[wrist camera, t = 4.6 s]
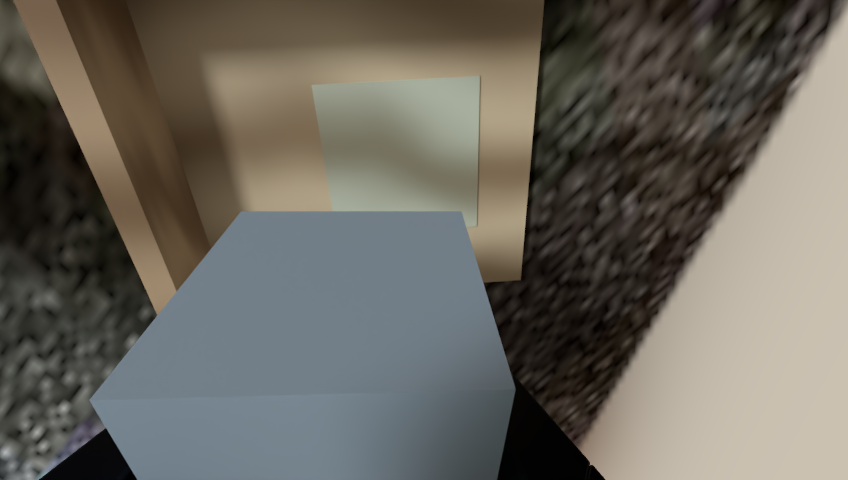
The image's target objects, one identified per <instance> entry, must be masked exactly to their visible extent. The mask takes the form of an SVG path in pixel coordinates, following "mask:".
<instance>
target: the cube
mask: <svg viewBox="0 0 848 480" xmlns="http://www.w3.org/2000/svg"><path fill="white" fill-rule="evenodd" d="M515 390H516V389H515V385H514V382H513V379H512V375H511V372H510V369H509V366H508V362H507V359H506V356H505V352H504V349H503V346H502V343H501V339H500V336H499V333H498V330H497V326H496V323H495V320H494V316H493V313H492V310H491V307H490V303H489V300H488V297H487V294H486V290H485V287H484V284H483V280H482V277H481V274H480V271H479V267H478V264H477V261H476V257H475V254H474V251H473V248H472V244H471V241H470V238H469V235H468V231H467V228H466V225H465V221H464V218H463V215H462V212H461V211H241V212H240V214H239V215H238V216H237V217H236V219H235V220H234V221H233V222H232V223H231V225H230V226H229V227H228V228H227V230H226V231H225V232H224V233H223V235H222V236H221V237H220V238H219V240H218V241H217V242H216V243H215V245H214V246H213V247H212V248H211V250H210V251H209V252H208V253H207V255H206V256H205V257H204V258H203V260H202V261H201V262H200V263H199V265H198V266H197V267H196V268H195V270H194V271H193V272H192V273H191V275H190V276H189V277H188V278H187V279H186V281H185V282H184V283H183V284H182V286H181V287H180V288H179V289H178V291H177V292H176V293H175V294H174V296H173V297H172V298H171V299H170V301H169V302H168V303H167V304H166V306H165V307H164V308H163V309H162V311H161V312H160V313H159V314H158V316H157V317H156V318H155V319H154V321H153V322H152V323H151V324H150V326H149V327H148V328H147V329H146V331H145V332H144V333H143V334H142V335H141V337H140V338H139V339H138V340H137V342H136V343H135V344H134V345H133V347H132V348H131V349H130V350H129V352H128V353H127V354H126V355H125V357H124V358H123V359H122V360H121V362H120V363H119V364H118V365H117V367H116V368H115V369H114V370H113V372H112V373H111V374H110V375H109V377H108V378H107V379H106V380H105V382H104V383H103V384H102V385H101V387H100V388H99V389H98V390H97V392H96V393H95V394H94V395H93V396H92V398H91V399H90V402H91V404H92V405H93V407H94V409H95V410H96V412H97V414H98V415H99V417H100V419H101V420H102V422H103V424H104V425H105V427H106V429H107V430H108V432H109V434H110V435H111V437H112V439H113V440H114V442H115V444H116V445H117V447H118V449H119V450H120V452H121V454H122V455H123V457H124V458H125V460H126V462H127V463H128V465H129V467H130V468H131V470H132V472H133V473H134V475H135V477H136V478H137V480H497V477H498V472H499V467H500V462H501V458H502V453H503V448H504V443H505V438H506V433H507V429H508V424H509V419H510V414H511V409H512V405H513V400H514V395H515Z"/></svg>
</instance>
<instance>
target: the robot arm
mask: <svg viewBox="0 0 848 480" xmlns="http://www.w3.org/2000/svg"><path fill="white" fill-rule="evenodd" d="M510 372H511V371H510ZM511 375H512V379H513V382H514V385H515V389H516V390H515V395H514V400H513V405H512V409H511V414H510V419H509V424H508V429H507V433H506V438H505V443H504V448H503V453H502V458H501V462H500V467H499V472H498V477H497V480H605V479H604V477H603V476H602V475H601V474H600V473H599V472H598V471H597V469H596V468H595V467H594V466H593V465H590V462H589V461H588V459H587V458H586V457H585V456H584V455H583V454H582V453H581V451H580V450H579V449H578V448H577V447H576V446H575V445H574V443H573V442H572V441H571V440H570V439H569V438H568V437H567V435H566V434H565V433H564V432H563V431H562V430H561V428H560V427H559V426H558V425H557V424H556V423H555V422H554V420H553V419H552V418H551V417H550V416H549V415H548V414H547V412H546V411H545V410H544V409H543V408H542V407H541V406H540V404H539V403H538V402H537V401H536V400H535V399H534V398H533V396H532V395H531V394H530V393H529V392H528V391H527V390H526V388H525V387H524V386H523V385H522V384H521V383H520V382H519V380H518V379H517V378H516V377H515V376H514V375H513V374H512V372H511ZM39 480H137V478H136V477H135V475H134V473H133V472H132V470H131V468H130V467H129V465H128V463H127V462H126V460H125V458H124V457H123V455H122V454H121V452H120V450H119V449H118V447H117V445H116V444H115V442H114V440H113V439H112V437H111V435H110V434H109V432H108V430H107V429H106V428H105V429H104V430H103V431H101V432H100V433H99V434H98V435H96V436H95V437H94V438H92V439H91V440H90V441H88V442H87V443H86V444H85V445H83V446H82V447H81V448H79V449H78V450H77V451H76V452H74V453H73V454H72V455H70V456H69V457H68V458H66V459H65V460H64V461H63V462H61V463H60V464H59V465H57V466H56V467H55V468H53V469H52V470H51V471H50V472H48V473H47V474H46V475H44V476H43V477H42V478H41V479H39Z"/></svg>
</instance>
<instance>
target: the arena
mask: <svg viewBox="0 0 848 480" xmlns="http://www.w3.org/2000/svg"><path fill="white" fill-rule="evenodd" d="M13 1H14V3H15V5H16V7H17V10H18V12H19V14H20V16H21V18H22V20H23V23H24V25H25V27H26V29H27V31H28V34H29V36H30V38H31V40H32V42H33V44H34V47H35V49H36V51H37V53H38V55H39V58H40V60H41V62H42V64H43V66H44V68H45V71H46V73H47V75H48V77H49V79H50V82H51V84H52V86H53V88H54V90H55V93H56V95H57V97H58V99H59V101H60V103H61V106H62V108H63V110H64V112H65V114H66V117H67V119H68V121H69V123H70V125H71V127H72V130H73V132H74V134H75V136H76V138H77V141H78V143H79V145H80V147H81V149H82V152H83V154H84V156H85V158H86V160H87V162H88V165H89V167H90V169H91V171H92V173H93V176H94V178H95V180H96V182H97V184H98V186H99V189H100V191H101V193H102V195H103V197H104V200H105V202H106V204H107V206H108V208H109V210H110V213H111V215H112V217H113V219H114V221H115V224H116V226H117V228H118V230H119V232H120V235H121V237H122V239H123V241H124V243H125V245H126V248H127V250H128V252H129V254H130V256H131V259H132V261H133V263H134V265H135V267H136V269H137V272H138V274H139V276H140V278H141V280H142V283H143V285H144V287H145V289H146V291H147V294H148V296H149V298H150V300H151V302H152V304H153V307H154V309H155V311H156V313H157V315H158V314H159V313H160V312H161V311H162V309H163V308H164V307H165V306H166V304H167V303H168V302H169V301H170V299H171V298H172V297H173V296H174V294H175V293H176V292H177V291H178V289H179V288H180V287H181V286H182V284H183V283H184V282H185V281H186V279H187V278H188V277H189V276H190V275H191V273H192V272H193V271H194V270H195V268H196V267H197V266H198V265H199V263H200V262H201V261H202V260H203V258H204V257H205V256H206V255H207V253H208V252H209V251H210V250H211V248H212V247H213V246H214V245H215V243H216V242H217V241H218V240H219V238H220V237H221V236H222V235H223V233H224V232H225V231H226V230H227V228H228V227H229V226H230V225H231V223H232V222H233V221H234V220H235V219H236V217H237V216H238V215H239V214H240V212H241V211H461V212H462V215H463V218H464V221H465V225H466V228H467V231H468V235H469V238H470V241H471V244H472V248H473V251H474V254H475V257H476V261H477V264H478V267H479V271H480V274H481V277H482V280H483V283H485V282H499V281H513V280H521V270H522V258H523V246H524V235H525V223H526V211H527V199H528V187H529V176H530V164H531V152H532V140H533V128H534V117H535V105H536V93H537V81H538V69H539V58H540V46H541V34H542V22H543V10H544V0H13Z"/></svg>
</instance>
